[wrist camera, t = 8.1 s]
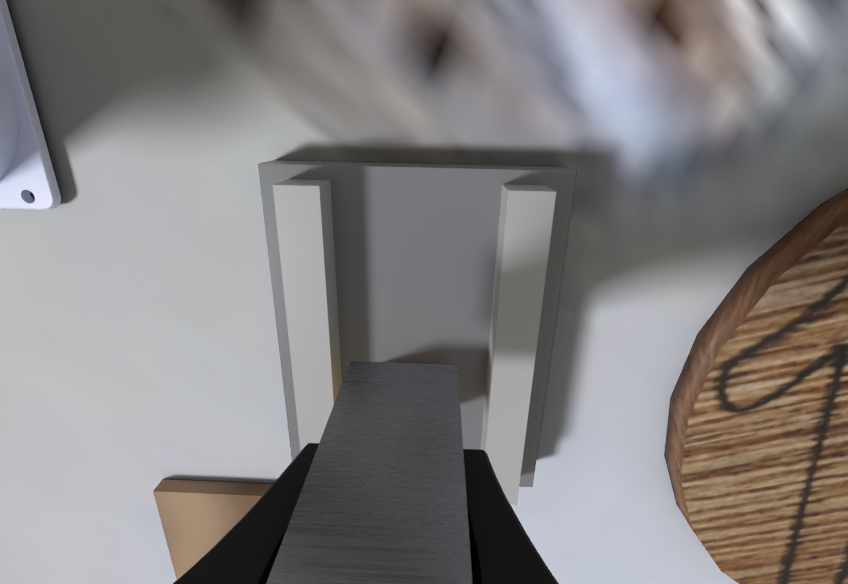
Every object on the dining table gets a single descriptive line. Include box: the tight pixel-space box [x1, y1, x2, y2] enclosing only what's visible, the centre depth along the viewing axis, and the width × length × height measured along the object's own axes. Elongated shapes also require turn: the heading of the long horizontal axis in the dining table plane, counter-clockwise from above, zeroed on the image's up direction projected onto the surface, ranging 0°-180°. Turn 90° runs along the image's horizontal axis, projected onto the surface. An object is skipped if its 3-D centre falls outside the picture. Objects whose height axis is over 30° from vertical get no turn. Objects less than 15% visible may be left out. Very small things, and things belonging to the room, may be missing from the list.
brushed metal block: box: [266, 361, 473, 584], centre depth 10 cm, size 3×3×7 cm
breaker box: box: [258, 160, 577, 505], centre depth 18 cm, size 14×11×3 cm
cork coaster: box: [153, 479, 273, 580], centre depth 24 cm, size 8×8×1 cm
